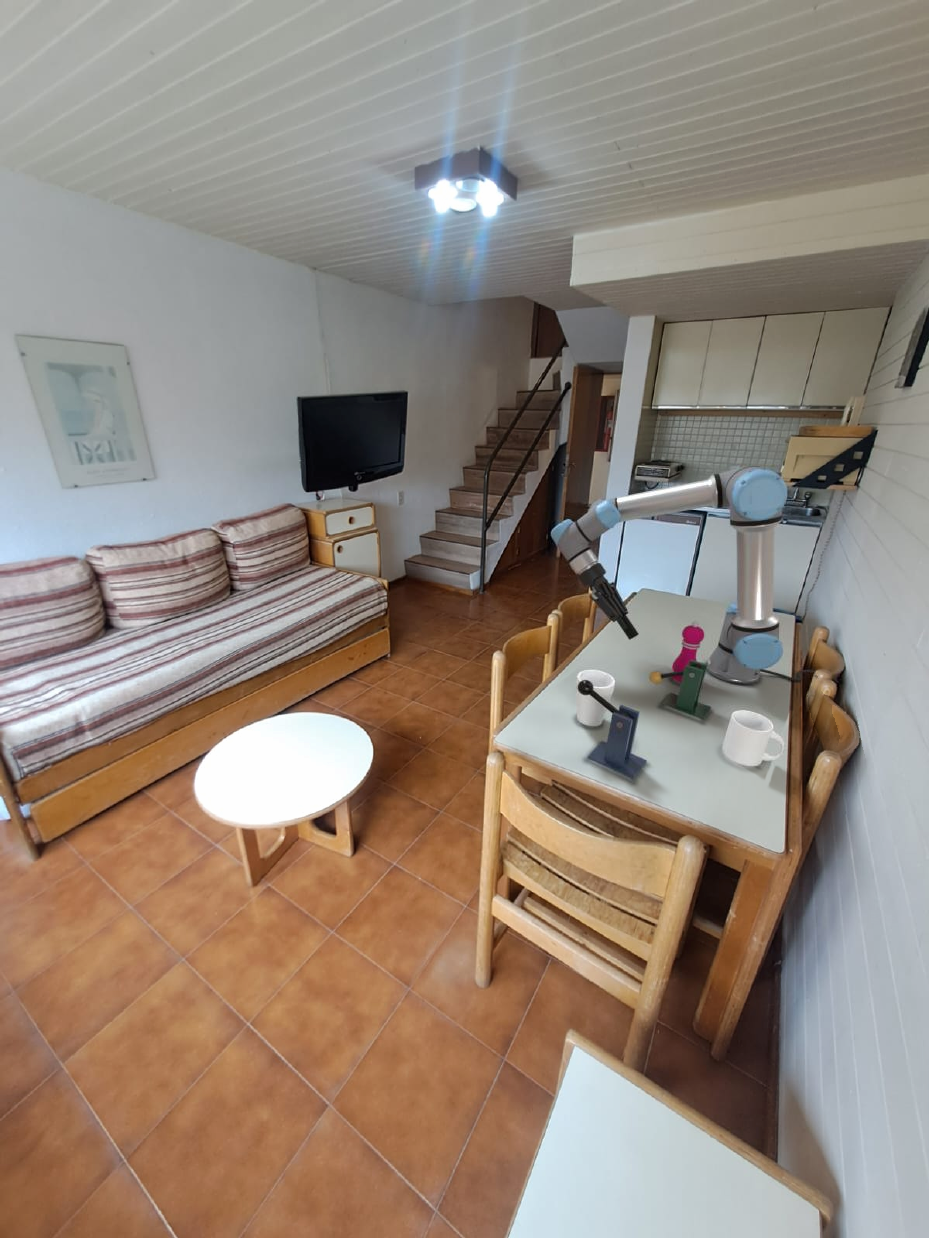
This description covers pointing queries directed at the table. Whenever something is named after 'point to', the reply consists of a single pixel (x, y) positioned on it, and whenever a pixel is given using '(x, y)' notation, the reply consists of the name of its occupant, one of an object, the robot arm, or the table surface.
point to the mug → (749, 738)
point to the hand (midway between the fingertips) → (634, 636)
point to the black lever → (598, 697)
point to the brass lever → (665, 675)
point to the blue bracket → (620, 745)
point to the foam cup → (587, 706)
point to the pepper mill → (688, 648)
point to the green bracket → (690, 692)
